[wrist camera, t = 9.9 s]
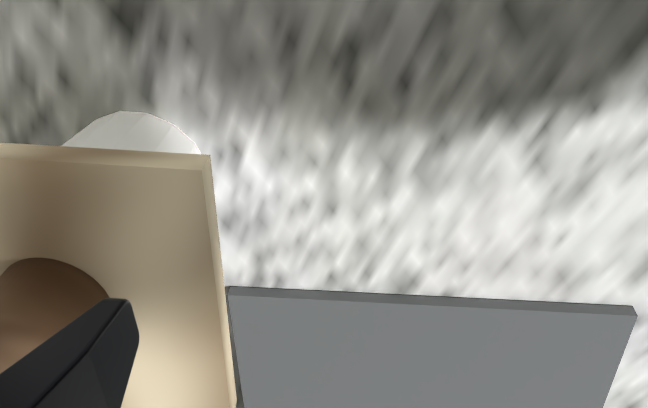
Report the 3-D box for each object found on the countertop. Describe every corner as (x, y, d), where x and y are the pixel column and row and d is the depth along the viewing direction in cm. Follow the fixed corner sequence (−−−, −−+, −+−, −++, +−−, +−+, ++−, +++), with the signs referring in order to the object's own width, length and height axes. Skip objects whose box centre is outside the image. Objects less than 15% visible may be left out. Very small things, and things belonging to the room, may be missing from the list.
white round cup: (258, 200, 24) (216, 319, 19) (139, 260, 27) (70, 382, 21) (149, 63, 22) (60, 155, 16) (27, 145, 24) (-89, 250, 18)
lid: (210, 154, 15) (126, 310, 10) (236, 401, 21) (190, 576, 16) (-149, 133, 16) (-380, 270, 11) (-30, 377, 22) (-152, 538, 17)
